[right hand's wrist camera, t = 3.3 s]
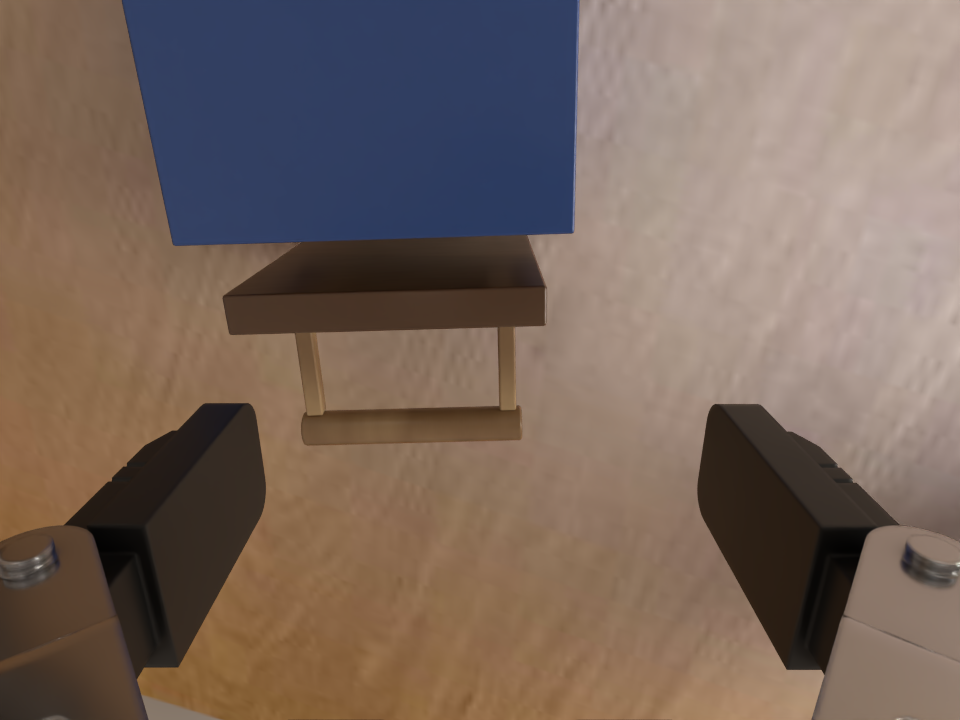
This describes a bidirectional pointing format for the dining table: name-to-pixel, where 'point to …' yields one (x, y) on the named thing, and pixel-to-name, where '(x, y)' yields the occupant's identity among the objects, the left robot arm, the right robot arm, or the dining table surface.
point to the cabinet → (359, 117)
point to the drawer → (397, 321)
